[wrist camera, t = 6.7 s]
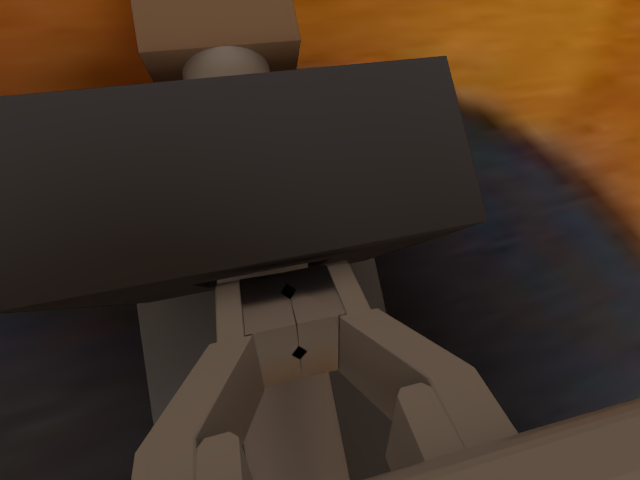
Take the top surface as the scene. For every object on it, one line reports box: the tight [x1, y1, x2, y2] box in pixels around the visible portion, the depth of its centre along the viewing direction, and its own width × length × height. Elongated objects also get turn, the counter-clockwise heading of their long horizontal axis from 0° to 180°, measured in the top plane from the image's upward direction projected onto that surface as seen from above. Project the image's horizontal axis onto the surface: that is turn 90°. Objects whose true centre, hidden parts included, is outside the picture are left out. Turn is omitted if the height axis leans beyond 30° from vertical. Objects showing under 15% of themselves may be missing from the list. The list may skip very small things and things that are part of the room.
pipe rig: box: [131, 0, 392, 480], centre depth 15 cm, size 24×12×10 cm, turn 11°
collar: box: [0, 56, 488, 313], centre depth 12 cm, size 4×10×10 cm, turn 101°
